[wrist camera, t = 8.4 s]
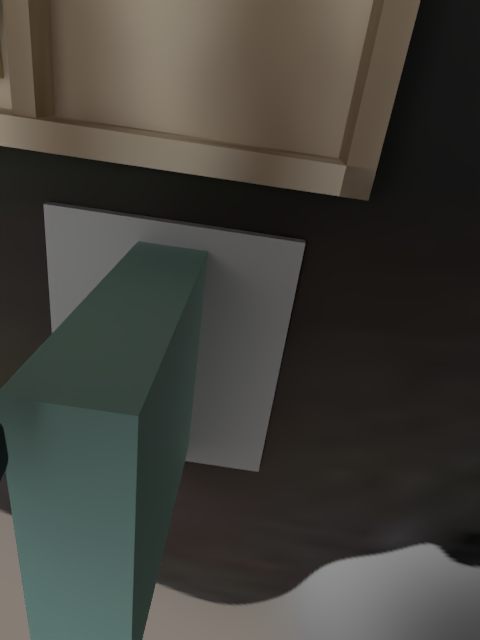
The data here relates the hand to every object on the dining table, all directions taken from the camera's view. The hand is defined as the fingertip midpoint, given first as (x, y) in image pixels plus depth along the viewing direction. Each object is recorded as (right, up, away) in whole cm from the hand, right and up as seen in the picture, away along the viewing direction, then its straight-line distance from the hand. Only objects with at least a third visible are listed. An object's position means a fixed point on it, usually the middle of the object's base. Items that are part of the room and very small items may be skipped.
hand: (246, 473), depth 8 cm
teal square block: (-4, +1, +14) cm, 14 cm away
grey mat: (-4, +1, +14) cm, 14 cm away
